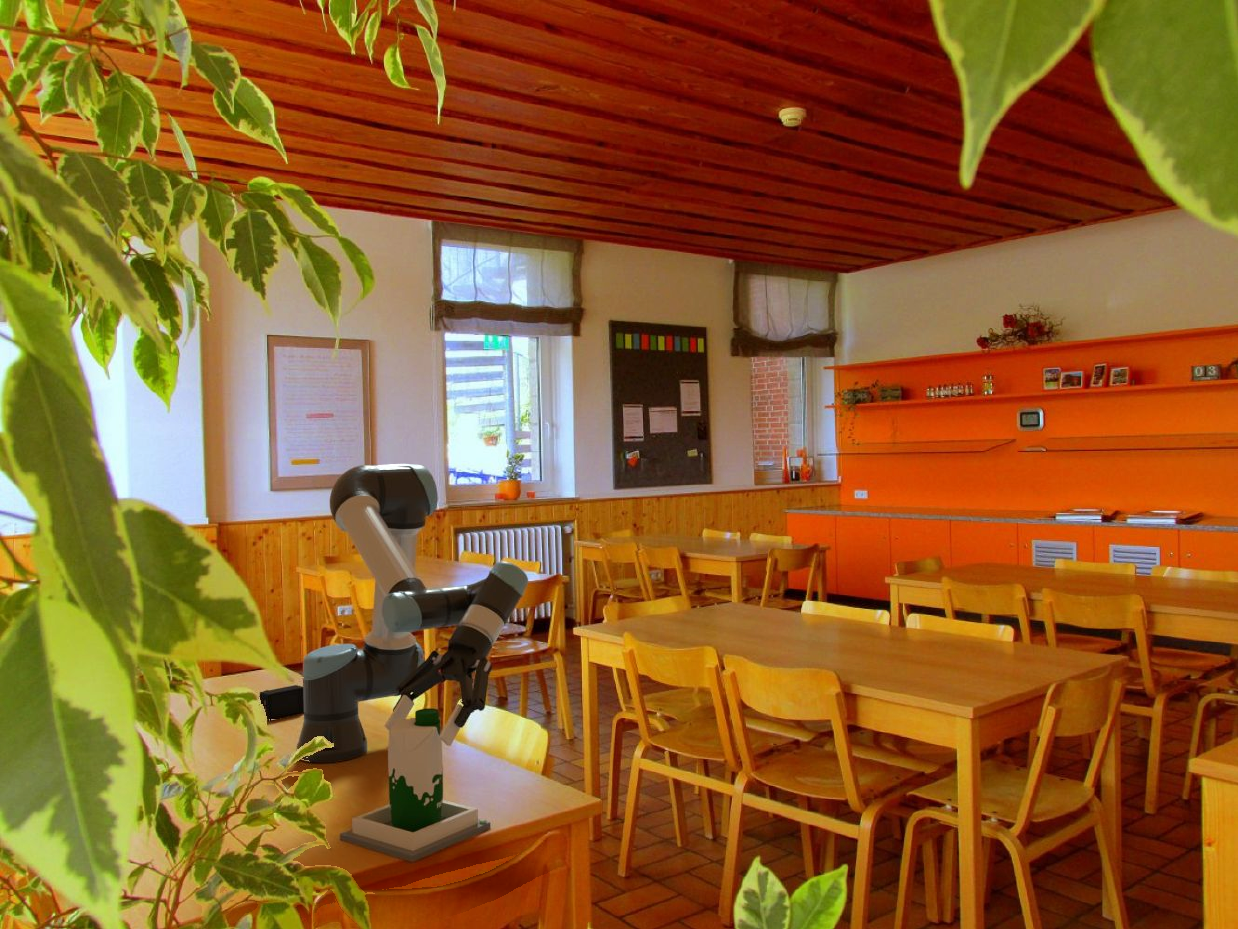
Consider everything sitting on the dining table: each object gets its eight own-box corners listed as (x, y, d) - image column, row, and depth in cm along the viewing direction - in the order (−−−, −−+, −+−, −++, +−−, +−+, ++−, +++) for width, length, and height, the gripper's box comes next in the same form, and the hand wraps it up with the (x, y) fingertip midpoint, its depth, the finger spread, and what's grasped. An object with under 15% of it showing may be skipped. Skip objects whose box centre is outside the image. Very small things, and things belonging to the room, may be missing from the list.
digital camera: (294, 710, 268) (293, 683, 268) (305, 713, 265) (304, 686, 265) (257, 718, 261) (256, 691, 261) (268, 721, 257) (267, 694, 257)
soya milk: (441, 835, 172) (438, 716, 172) (386, 838, 172) (383, 719, 171) (446, 817, 181) (443, 704, 181) (394, 820, 180) (391, 706, 180)
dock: (339, 839, 174) (339, 819, 174) (419, 809, 189) (418, 790, 189) (412, 862, 163) (412, 840, 163) (490, 827, 178) (489, 807, 178)
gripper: (536, 654, 183) (480, 758, 171) (438, 642, 198) (380, 737, 186) (516, 628, 179) (456, 734, 167) (417, 618, 194) (356, 714, 182)
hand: (416, 736), depth 177 cm, fingers open, 13 cm apart
